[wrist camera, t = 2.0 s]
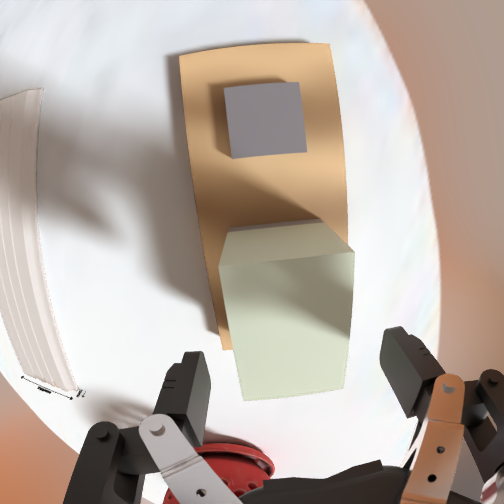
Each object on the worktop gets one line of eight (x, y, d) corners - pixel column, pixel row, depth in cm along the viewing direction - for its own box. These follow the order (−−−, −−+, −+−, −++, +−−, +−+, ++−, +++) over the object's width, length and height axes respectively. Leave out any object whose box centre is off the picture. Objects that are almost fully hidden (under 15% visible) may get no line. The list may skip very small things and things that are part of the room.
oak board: (184, 63, 15) (179, 55, 13) (323, 51, 14) (329, 43, 13) (224, 338, 21) (222, 350, 20) (338, 325, 21) (344, 336, 20)
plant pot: (279, 432, 26) (287, 527, 14) (274, 476, 30) (278, 544, 19) (162, 427, 26) (140, 516, 14) (183, 473, 30) (174, 539, 19)
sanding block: (228, 227, 17) (218, 266, 11) (320, 218, 17) (354, 251, 11) (244, 337, 19) (243, 401, 14) (321, 329, 19) (343, 388, 14)
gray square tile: (225, 92, 14) (223, 87, 13) (295, 86, 14) (299, 81, 13) (233, 158, 15) (232, 159, 14) (303, 152, 15) (307, 152, 14)
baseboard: (60, 86, 15) (-8, 107, 15) (38, 81, 12) (-27, 107, 12) (90, 389, 25) (29, 366, 24) (81, 406, 22) (19, 380, 22)
